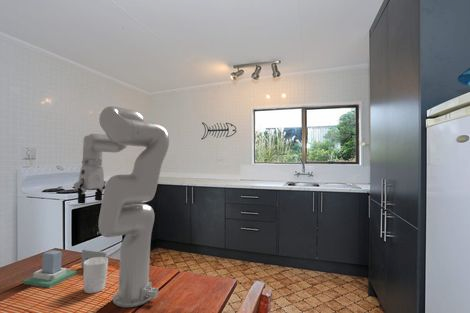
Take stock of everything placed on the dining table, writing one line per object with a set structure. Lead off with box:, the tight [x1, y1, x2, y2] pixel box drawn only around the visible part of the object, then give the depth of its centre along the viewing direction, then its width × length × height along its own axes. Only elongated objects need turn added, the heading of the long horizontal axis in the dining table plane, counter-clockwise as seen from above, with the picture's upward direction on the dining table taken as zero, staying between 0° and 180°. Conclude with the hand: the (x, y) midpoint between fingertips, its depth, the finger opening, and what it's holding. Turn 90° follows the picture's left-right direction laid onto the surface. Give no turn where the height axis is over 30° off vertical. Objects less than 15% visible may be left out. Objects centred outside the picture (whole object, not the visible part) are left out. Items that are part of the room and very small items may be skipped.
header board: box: [22, 267, 78, 288], centre depth 98 cm, size 12×12×3 cm
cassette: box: [80, 249, 108, 267], centre depth 108 cm, size 12×2×8 cm, turn 76°
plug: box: [41, 249, 63, 274], centre depth 98 cm, size 6×4×9 cm, turn 78°
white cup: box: [83, 257, 109, 294], centre depth 91 cm, size 8×8×10 cm
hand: (90, 201), depth 111 cm, fingers open, 9 cm apart
